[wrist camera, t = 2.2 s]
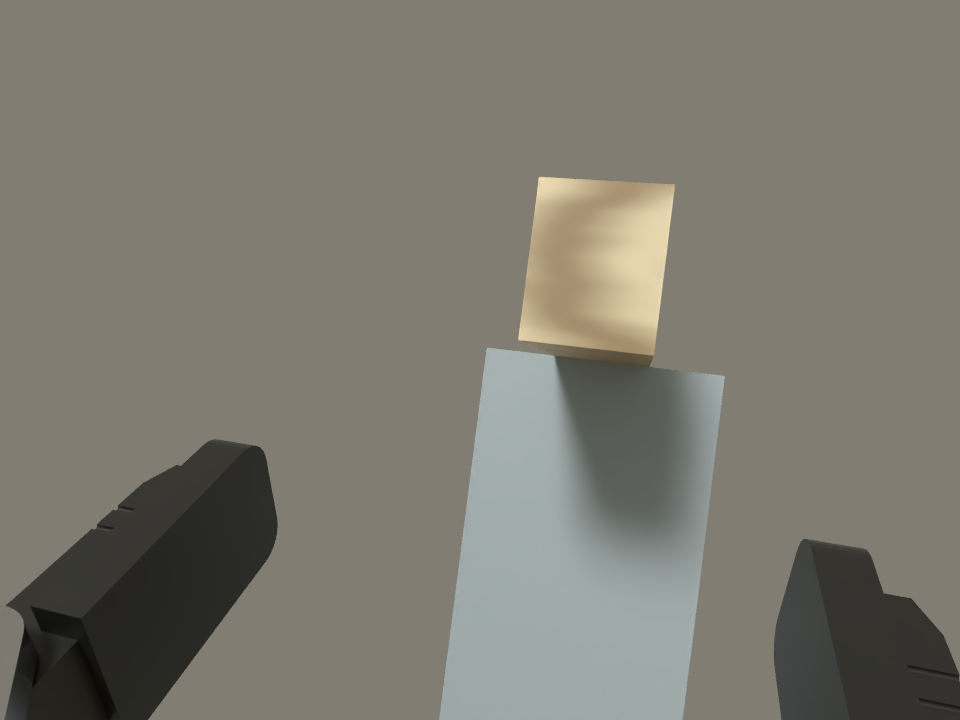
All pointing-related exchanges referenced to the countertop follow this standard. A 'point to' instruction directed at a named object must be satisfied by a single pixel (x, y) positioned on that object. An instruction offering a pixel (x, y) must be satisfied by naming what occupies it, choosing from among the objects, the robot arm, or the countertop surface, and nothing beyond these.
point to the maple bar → (596, 269)
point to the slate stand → (581, 541)
